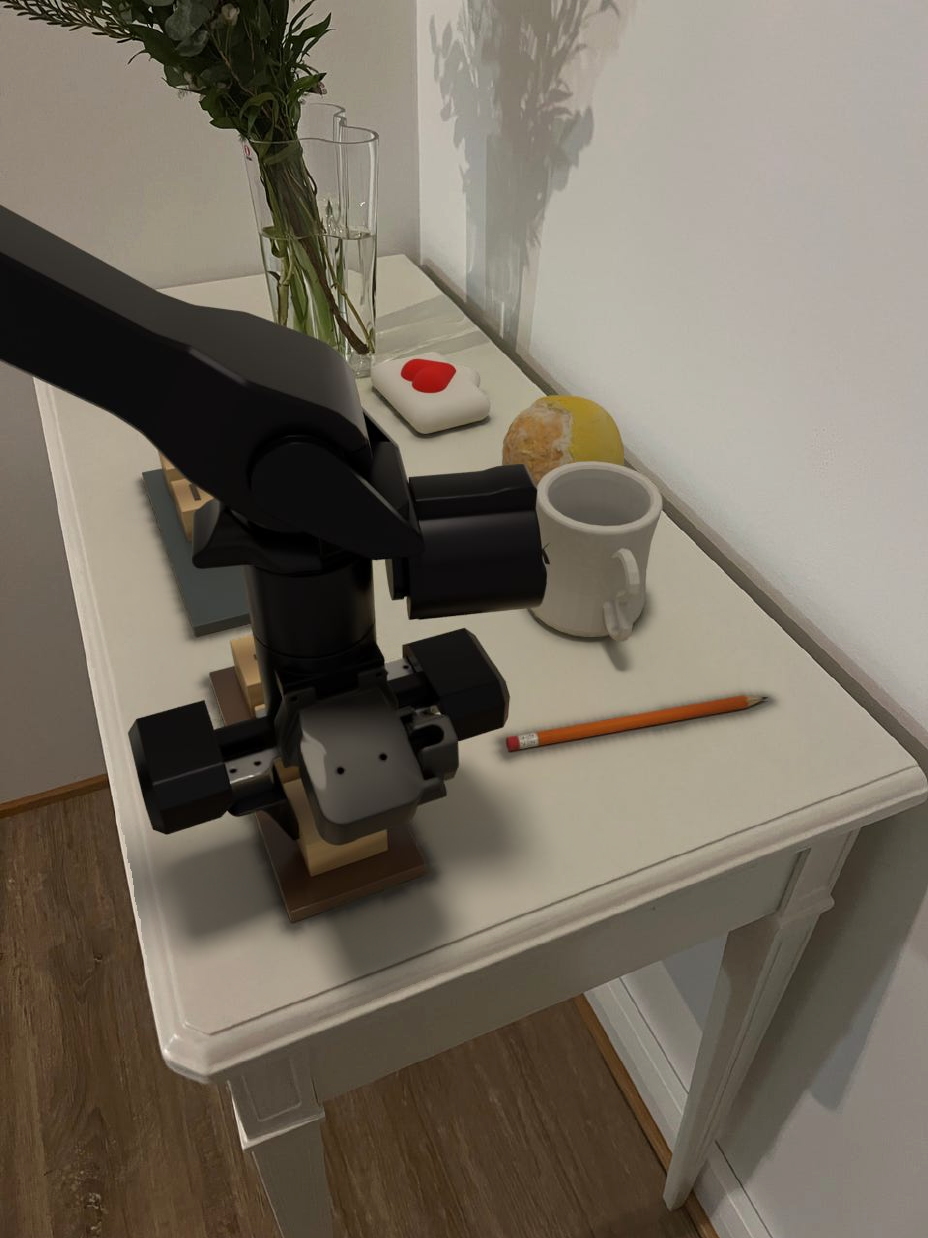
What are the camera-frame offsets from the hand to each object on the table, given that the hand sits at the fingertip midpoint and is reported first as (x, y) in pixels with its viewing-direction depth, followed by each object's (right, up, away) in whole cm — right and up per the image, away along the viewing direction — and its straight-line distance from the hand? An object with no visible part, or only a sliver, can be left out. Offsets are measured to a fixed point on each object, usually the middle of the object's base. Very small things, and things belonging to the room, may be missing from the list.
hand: (335, 820), depth 54 cm
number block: (0, -1, +1) cm, 1 cm away
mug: (+17, +12, +17) cm, 27 cm away
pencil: (+19, +4, +9) cm, 22 cm away
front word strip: (-2, +2, +6) cm, 6 cm away
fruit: (+15, +21, +28) cm, 38 cm away
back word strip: (-13, +18, +23) cm, 32 cm away
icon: (+5, +33, +42) cm, 53 cm away
